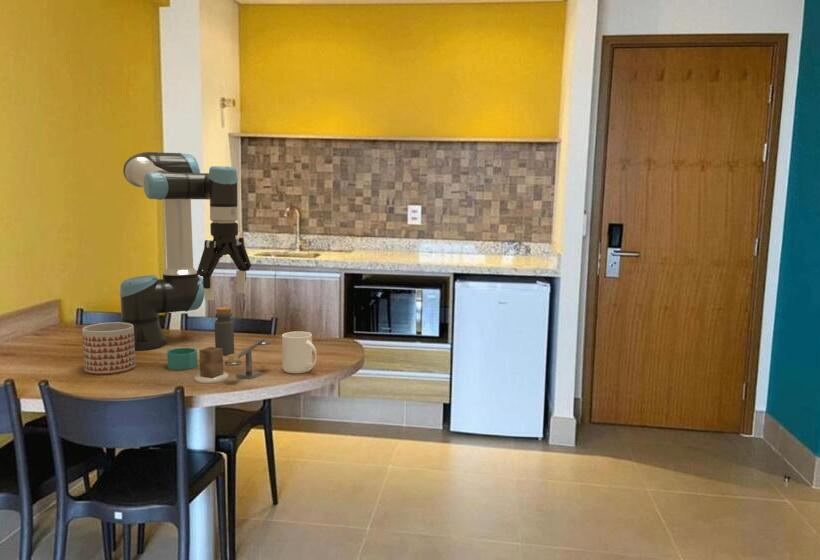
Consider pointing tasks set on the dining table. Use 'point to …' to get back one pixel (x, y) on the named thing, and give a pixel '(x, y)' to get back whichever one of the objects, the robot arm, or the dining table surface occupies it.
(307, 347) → the mug
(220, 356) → the block
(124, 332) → the planter
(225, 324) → the bottle
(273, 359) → the dining table surface
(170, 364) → the collar
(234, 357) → the balance
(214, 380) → the dish
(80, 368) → the dining table surface
